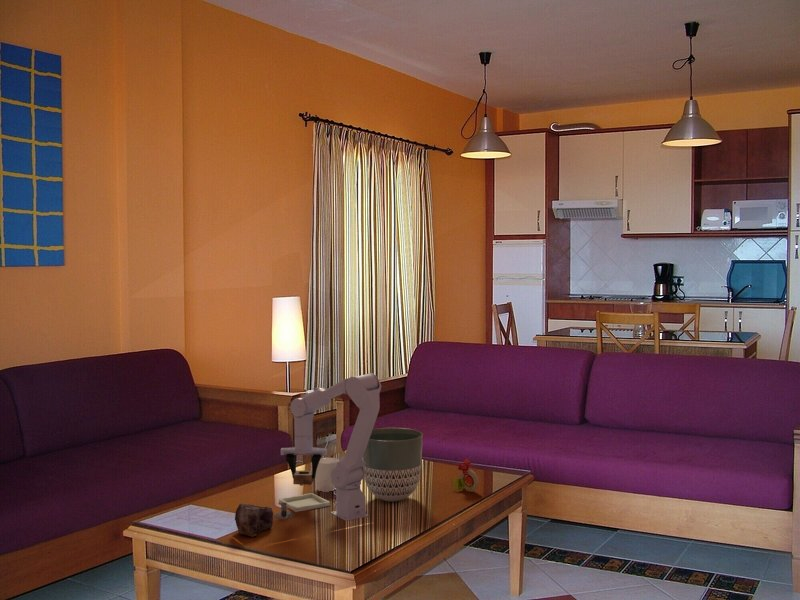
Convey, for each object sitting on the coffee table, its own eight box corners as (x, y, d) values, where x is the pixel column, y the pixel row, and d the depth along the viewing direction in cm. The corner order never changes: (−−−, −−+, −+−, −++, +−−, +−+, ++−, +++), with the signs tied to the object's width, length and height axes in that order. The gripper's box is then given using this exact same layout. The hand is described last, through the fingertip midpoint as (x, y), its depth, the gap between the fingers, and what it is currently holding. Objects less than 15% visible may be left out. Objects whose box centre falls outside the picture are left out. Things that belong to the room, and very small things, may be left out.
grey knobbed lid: (298, 517, 253) (298, 503, 252) (278, 521, 249) (278, 507, 249) (288, 512, 258) (288, 498, 258) (269, 515, 254) (269, 502, 254)
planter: (351, 495, 275) (351, 431, 274) (405, 487, 284) (404, 425, 283) (378, 512, 258) (377, 443, 256) (434, 503, 267) (433, 436, 265)
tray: (330, 506, 263) (330, 501, 263) (295, 513, 257) (295, 508, 257) (312, 497, 273) (312, 493, 273) (278, 503, 267) (278, 499, 267)
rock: (276, 535, 241) (251, 528, 246) (279, 505, 241) (254, 498, 247) (247, 540, 231) (222, 532, 237) (251, 509, 232) (225, 502, 237)
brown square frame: (314, 480, 267) (314, 470, 267) (310, 485, 260) (310, 476, 260) (297, 479, 267) (297, 470, 267) (292, 485, 261) (292, 475, 261)
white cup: (310, 491, 281) (310, 461, 280) (323, 485, 288) (323, 456, 287) (330, 494, 277) (330, 464, 277) (343, 488, 284) (343, 459, 284)
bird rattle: (477, 496, 282) (457, 481, 286) (489, 468, 278) (468, 454, 283) (467, 500, 277) (447, 485, 282) (479, 472, 273) (457, 457, 278)
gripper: (278, 437, 260) (278, 480, 261) (324, 438, 259) (324, 481, 260) (283, 432, 267) (283, 474, 268) (328, 433, 266) (328, 475, 267)
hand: (304, 477), depth 265 cm, fingers closed on brown square frame, 6 cm apart
